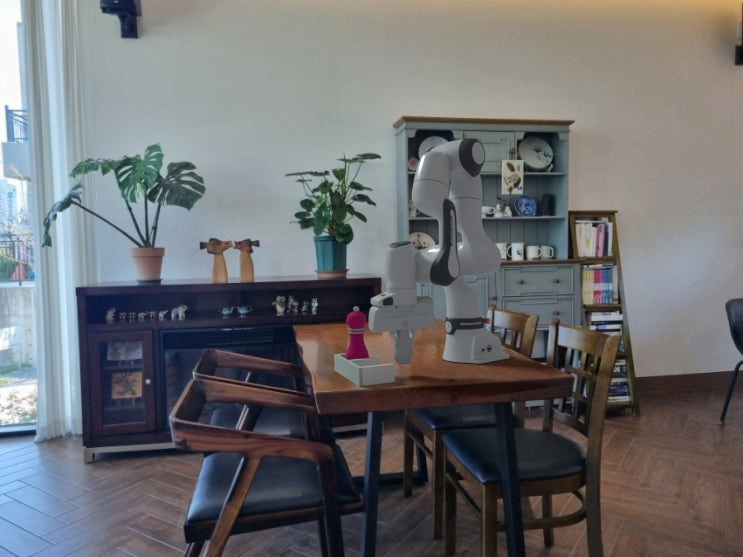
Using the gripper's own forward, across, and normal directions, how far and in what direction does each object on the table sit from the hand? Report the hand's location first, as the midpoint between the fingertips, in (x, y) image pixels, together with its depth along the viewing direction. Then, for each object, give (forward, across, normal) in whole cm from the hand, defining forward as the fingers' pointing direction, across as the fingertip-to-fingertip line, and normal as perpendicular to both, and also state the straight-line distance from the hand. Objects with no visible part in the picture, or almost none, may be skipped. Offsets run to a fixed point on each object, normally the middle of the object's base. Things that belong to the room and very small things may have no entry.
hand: (403, 344), depth 145 cm
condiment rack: (+9, +11, -5) cm, 15 cm away
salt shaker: (+5, 0, 0) cm, 5 cm away
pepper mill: (+9, +11, -10) cm, 17 cm away
